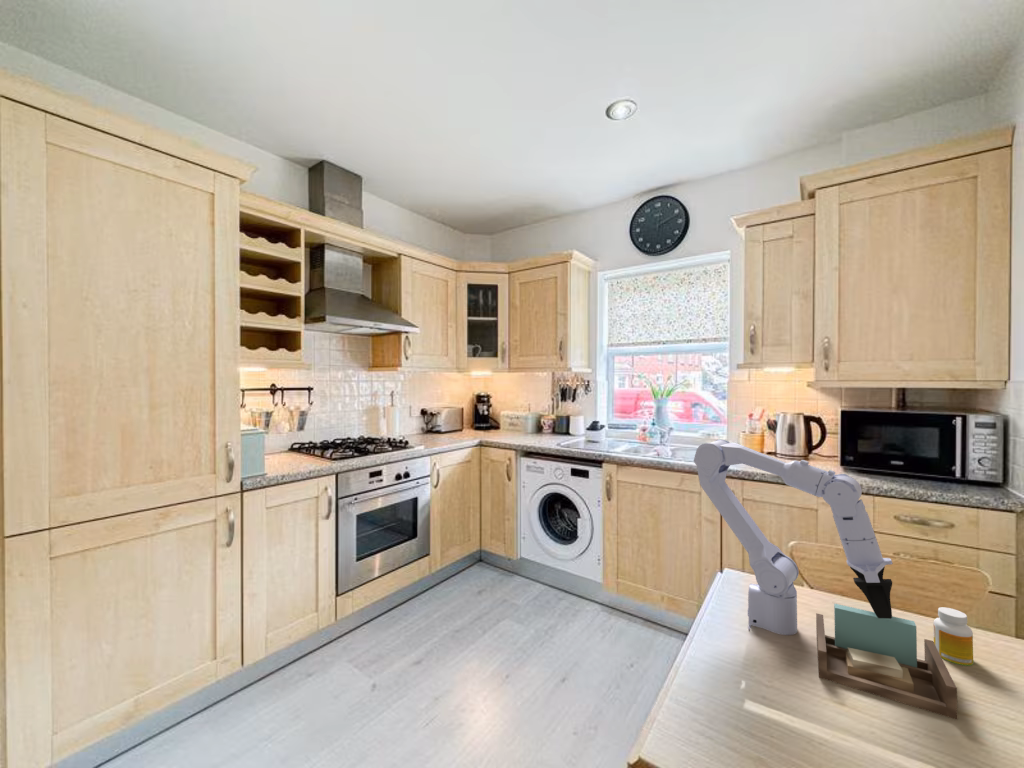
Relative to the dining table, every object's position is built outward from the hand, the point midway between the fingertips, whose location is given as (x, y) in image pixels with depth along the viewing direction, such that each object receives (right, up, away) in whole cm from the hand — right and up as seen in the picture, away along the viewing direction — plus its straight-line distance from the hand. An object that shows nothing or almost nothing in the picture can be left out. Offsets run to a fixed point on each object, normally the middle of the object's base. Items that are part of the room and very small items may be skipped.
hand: (881, 609), depth 82 cm
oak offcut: (-4, -10, -4) cm, 12 cm away
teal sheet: (-1, -10, 0) cm, 10 cm away
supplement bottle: (+15, -11, +1) cm, 19 cm away
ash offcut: (-5, -9, -3) cm, 10 cm away
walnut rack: (-3, -11, -3) cm, 12 cm away
